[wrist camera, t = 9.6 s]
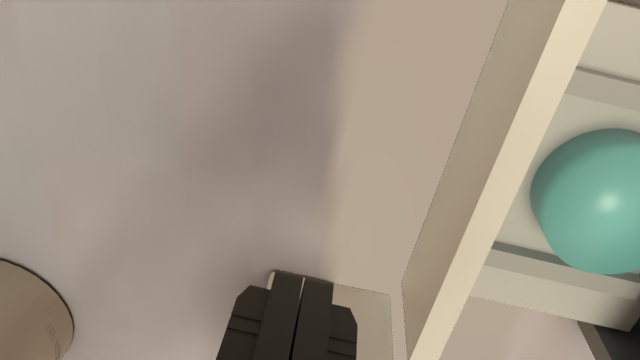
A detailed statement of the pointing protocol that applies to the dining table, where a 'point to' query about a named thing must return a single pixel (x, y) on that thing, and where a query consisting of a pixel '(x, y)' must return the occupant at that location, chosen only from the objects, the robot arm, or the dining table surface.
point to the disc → (592, 201)
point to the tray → (525, 172)
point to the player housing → (612, 341)
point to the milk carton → (365, 319)
